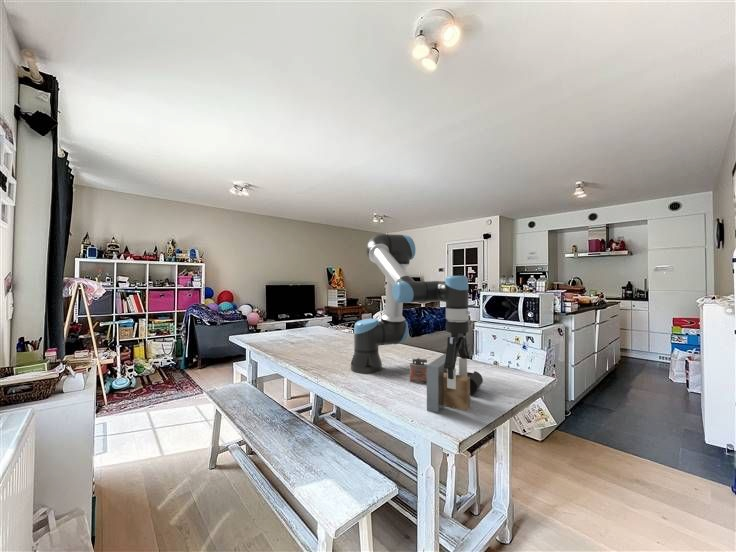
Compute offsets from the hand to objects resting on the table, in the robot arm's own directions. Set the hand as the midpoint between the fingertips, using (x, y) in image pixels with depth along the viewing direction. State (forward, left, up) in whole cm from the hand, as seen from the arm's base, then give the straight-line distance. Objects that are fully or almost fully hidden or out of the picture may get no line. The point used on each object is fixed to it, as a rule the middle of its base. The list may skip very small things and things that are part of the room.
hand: (457, 382), depth 107 cm
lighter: (-21, +15, -9) cm, 27 cm away
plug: (-3, 0, -8) cm, 9 cm away
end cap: (0, +16, -9) cm, 18 cm away
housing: (-6, 0, -8) cm, 10 cm away
